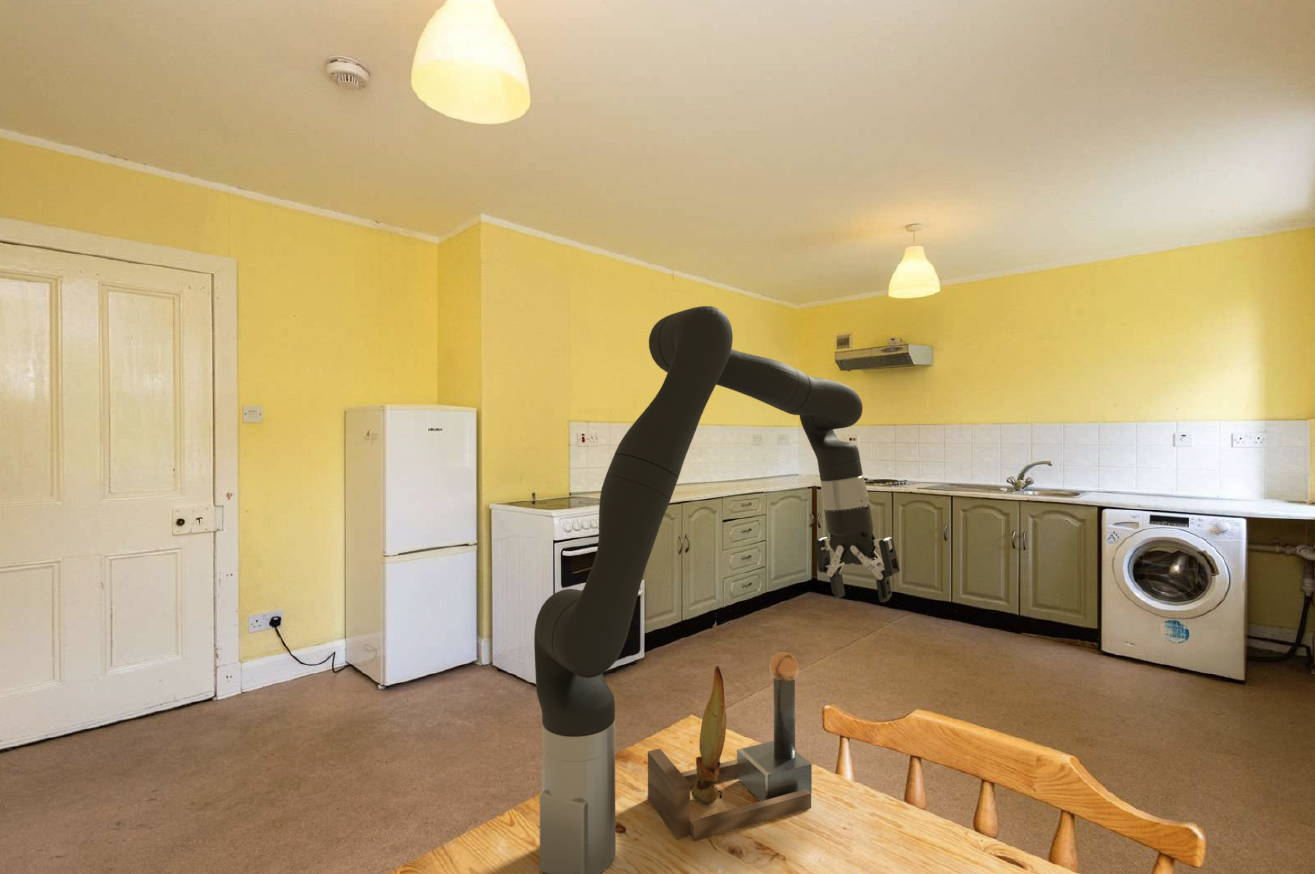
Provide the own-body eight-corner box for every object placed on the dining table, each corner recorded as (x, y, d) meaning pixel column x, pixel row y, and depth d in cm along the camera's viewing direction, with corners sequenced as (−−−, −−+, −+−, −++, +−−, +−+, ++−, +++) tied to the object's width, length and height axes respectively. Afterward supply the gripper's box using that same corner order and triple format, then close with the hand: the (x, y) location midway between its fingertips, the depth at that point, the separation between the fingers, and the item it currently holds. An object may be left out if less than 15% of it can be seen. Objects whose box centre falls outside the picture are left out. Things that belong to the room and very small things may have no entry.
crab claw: (728, 821, 86) (727, 676, 86) (691, 820, 86) (690, 676, 86) (725, 792, 93) (725, 658, 93) (691, 791, 93) (690, 658, 93)
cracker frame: (680, 845, 81) (680, 791, 81) (644, 794, 92) (644, 747, 92) (811, 807, 89) (811, 758, 89) (763, 765, 100) (763, 722, 100)
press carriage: (765, 806, 88) (765, 667, 88) (737, 778, 96) (736, 650, 96) (812, 793, 91) (812, 659, 91) (781, 766, 99) (781, 643, 99)
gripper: (798, 509, 108) (814, 601, 108) (872, 506, 98) (889, 608, 97) (823, 502, 113) (838, 590, 113) (896, 498, 102) (912, 595, 102)
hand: (862, 598), depth 105 cm, fingers open, 8 cm apart
